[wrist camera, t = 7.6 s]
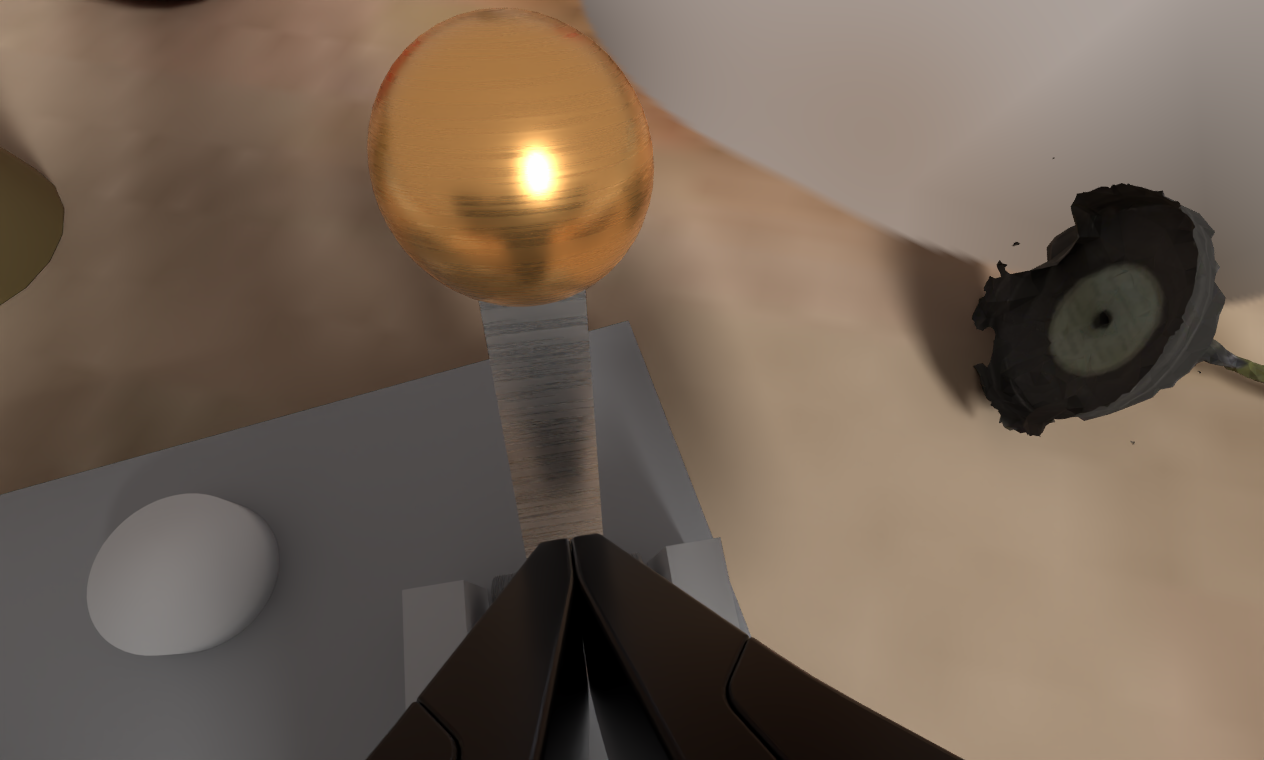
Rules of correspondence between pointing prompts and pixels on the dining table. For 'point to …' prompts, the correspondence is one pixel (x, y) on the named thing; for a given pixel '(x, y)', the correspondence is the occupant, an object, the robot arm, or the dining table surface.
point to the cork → (25, 223)
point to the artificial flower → (1105, 312)
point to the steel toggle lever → (519, 223)
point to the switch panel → (305, 569)
